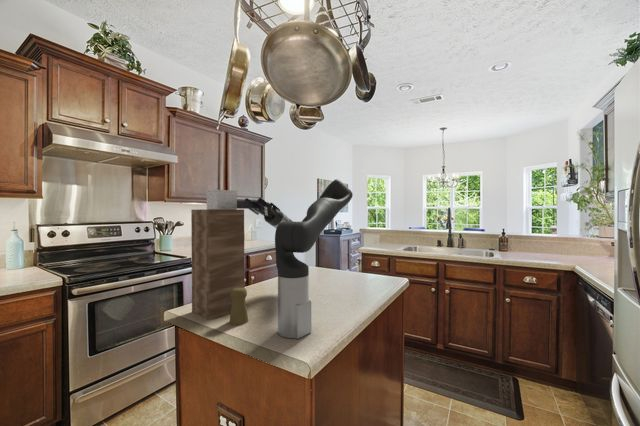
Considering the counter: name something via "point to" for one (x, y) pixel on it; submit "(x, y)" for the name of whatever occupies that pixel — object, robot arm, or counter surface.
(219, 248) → the tall wooden block
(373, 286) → the counter surface
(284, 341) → the counter surface
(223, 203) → the meat mallet
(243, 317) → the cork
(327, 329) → the counter surface
